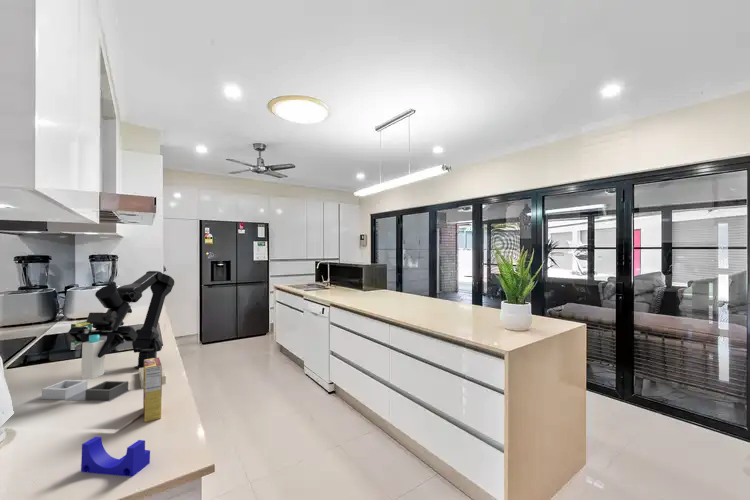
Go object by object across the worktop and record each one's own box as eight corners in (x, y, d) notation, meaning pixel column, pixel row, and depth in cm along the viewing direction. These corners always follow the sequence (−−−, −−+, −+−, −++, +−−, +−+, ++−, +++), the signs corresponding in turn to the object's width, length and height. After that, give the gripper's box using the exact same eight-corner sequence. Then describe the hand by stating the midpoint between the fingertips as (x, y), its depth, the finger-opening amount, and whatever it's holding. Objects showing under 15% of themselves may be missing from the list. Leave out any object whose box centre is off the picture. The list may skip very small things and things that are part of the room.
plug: (93, 373, 107) (95, 333, 108) (104, 374, 107) (105, 334, 107) (80, 377, 103) (82, 336, 104) (91, 378, 103) (93, 337, 103)
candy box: (141, 410, 97) (143, 359, 97) (159, 407, 99) (160, 356, 100) (142, 423, 90) (144, 367, 90) (161, 418, 92) (163, 364, 93)
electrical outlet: (161, 362, 130) (166, 375, 116) (160, 372, 130) (165, 387, 116) (138, 365, 125) (141, 379, 111) (138, 376, 125) (141, 391, 111)
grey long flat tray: (64, 390, 110) (65, 379, 110) (131, 392, 110) (132, 380, 110) (36, 402, 101) (37, 389, 101) (109, 404, 101) (109, 391, 101)
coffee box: (74, 351, 155) (75, 323, 155) (69, 351, 155) (70, 323, 155) (92, 347, 162) (93, 320, 163) (87, 346, 163) (88, 320, 163)
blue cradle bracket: (149, 464, 72) (150, 436, 73) (132, 477, 68) (133, 448, 68) (100, 459, 74) (101, 433, 74) (80, 472, 69) (82, 444, 69)
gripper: (73, 302, 108) (42, 344, 97) (133, 302, 111) (110, 343, 99) (90, 321, 116) (63, 362, 105) (146, 321, 118) (125, 361, 107)
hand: (90, 357), depth 104 cm, fingers closed on plug, 5 cm apart
